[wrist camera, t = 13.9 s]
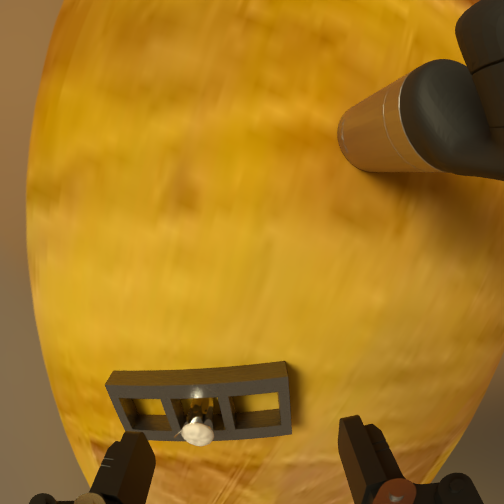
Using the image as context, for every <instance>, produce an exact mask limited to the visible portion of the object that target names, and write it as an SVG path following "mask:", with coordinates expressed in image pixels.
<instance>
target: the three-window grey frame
mask: <svg viewBox="0 0 504 504" xmlns="http://www.w3.org/2000/svg"><path fill="white" fill-rule="evenodd" d="M105 387H106V389H107V391H108V394H109V396H110V398H111V401H112V403H113V405H114V408H115V410H116V412H117V414H118V416H119V419H120V421H121V423H122V425H123V427H124V429H125V431H134V432H143V433H144V434H145V436H146V438H147V440H157V441H186V440H185V439H184V438H183V437H182V434H181V432H182V431H181V430H182V428H183V425H184V423H185V420H186V418H187V415H185V413H184V410H183V407H182V404H181V401H180V399H187V398H212V397H218V401H219V405H220V409H221V414H213V423H214V439H213V440H212V441H222V440H240V439H253V438H264V437H274V436H282V435H290V434H292V427H291V411H290V396H289V382H288V374H287V369H286V364H285V361H280V362H272V363H263V364H254V365H243V366H232V367H220V368H205V369H187V370H159V371H113V372H112V374H111V375H110V377H109V379H108V380H107V382H106V383H105ZM271 392H278V402H279V409H273V410H264V411H253V412H242V413H236V411H235V406H234V401H233V396H241V395H252V394H262V393H271ZM132 398H137V399H161V402H162V405H163V408H164V410H165V413H166V415H140V414H138V412H137V410H136V407H135V405H134V402H133V400H132ZM180 431H181V432H180ZM179 432H180V433H179ZM177 433H179V434H178V435H177V436H176V437H175V438H174V436H175V435H176V434H177Z"/></svg>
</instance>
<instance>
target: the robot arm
mask: <svg viewBox="0 0 504 504" xmlns="http://www.w3.org/2000/svg"><path fill="white" fill-rule="evenodd" d="M455 34H456V38H457V41H458V44H459V47H460V50H461V53H462V55H463V58H464V60H465V63H466V65H467V66H465V65H463V64H461V63H459V62H456V61H453V60H448V59H438V60H433V61H430V62H427V63H425V64H423V65H422V66H420V67H418V68H416V69H415V70H413V71H411V72H410V73H408V74H406V75H405V76H403V77H401V78H399V79H398V80H396V81H395V82H393V83H391V84H389V85H388V86H386V87H384V88H383V89H381V90H379V91H378V92H376V93H374V94H373V95H371V96H369V97H368V98H366V99H364V100H363V101H361V102H359V103H358V104H356V105H355V106H353V107H351V108H350V109H349V110H348V111H346V112H345V114H344V115H343V116H342V118H341V120H340V122H339V126H338V142H339V146H340V148H341V151H342V153H343V154H344V156H345V157H346V159H347V160H348V161H349V162H350V163H351V164H352V165H354V166H355V167H357V168H358V169H361V170H363V171H368V172H443V173H453V174H457V175H463V176H476V177H483V178H490V179H496V180H502V181H504V0H480V1H479V2H477V3H475V4H474V5H473V6H471V7H470V8H469V9H468V10H466V11H465V12H464V13H463V14H462V16H461V17H460V18H459V19H458V21H457V23H456V27H455ZM338 450H339V455H340V458H341V461H342V464H343V467H344V471H345V474H346V477H347V480H348V484H349V487H350V490H351V493H352V497H353V500H354V503H355V504H484V503H483V502H482V500H481V498H480V496H479V494H478V492H477V490H476V488H475V486H474V484H473V482H472V480H471V479H470V478H469V477H468V476H467V475H465V474H463V473H452V474H449V475H447V476H446V477H444V478H443V479H442V480H441V481H440V483H431V484H415V483H412V482H411V481H409V480H407V479H405V478H404V476H403V475H402V473H401V471H400V469H399V467H398V464H397V462H396V460H395V458H394V456H393V454H392V452H391V450H390V449H389V446H388V444H387V442H386V439H385V437H384V435H383V433H382V431H381V430H380V429H379V428H377V427H376V426H375V425H373V424H369V425H365V426H364V425H363V423H362V420H361V418H360V416H359V415H354V416H350V417H345V418H341V419H340V422H339V435H338ZM155 465H156V460H155V455H154V452H153V450H152V448H151V446H150V444H149V442H148V440H147V438H146V436H145V434H144V433H143V432H134V431H126V432H125V433H124V434H123V437H122V439H121V441H120V442H118V441H115V442H114V443H113V444H112V445H111V446H110V447H109V448H108V450H107V452H106V454H105V456H104V459H103V461H102V463H101V466H100V468H99V470H98V473H97V475H96V477H95V480H94V482H93V484H92V487H91V489H90V491H89V493H84V494H82V495H80V496H78V497H77V498H76V500H75V501H56V500H55V499H54V498H53V497H52V496H51V495H49V494H44V493H41V494H37V495H35V496H34V497H33V498H32V499H31V500H30V503H29V504H145V503H146V499H147V496H148V492H149V488H150V484H151V480H152V477H153V473H154V469H155Z"/></svg>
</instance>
